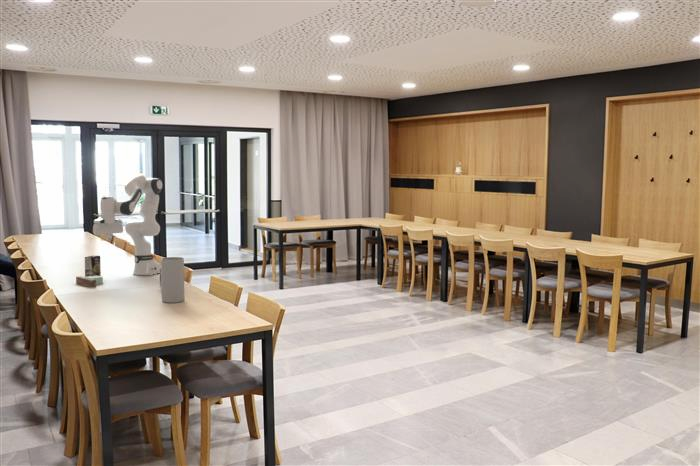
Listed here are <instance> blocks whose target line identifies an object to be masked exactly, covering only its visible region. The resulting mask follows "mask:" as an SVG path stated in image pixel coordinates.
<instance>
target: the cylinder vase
mask: <svg viewBox="0 0 700 466" xmlns="http://www.w3.org/2000/svg"><path fill="white" fill-rule="evenodd" d="M160 265H161V268H162V289H161V301H162V302H163V303H165V302H166V303H167V304H177V303H176V302H178V303H181V302H184V301H185V258H184V257H180V256H179V257H178V256H171V257H170V256H169V257H161V259H160Z"/></svg>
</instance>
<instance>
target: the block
mask: <svg viewBox="0 0 700 466" xmlns="http://www.w3.org/2000/svg"><path fill="white" fill-rule="evenodd" d="M86 278H90V279H94V280H96V286H98V285H103V284H104V281H103V278H104V277H103V276H97V275H96V276H88V277H86Z"/></svg>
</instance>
